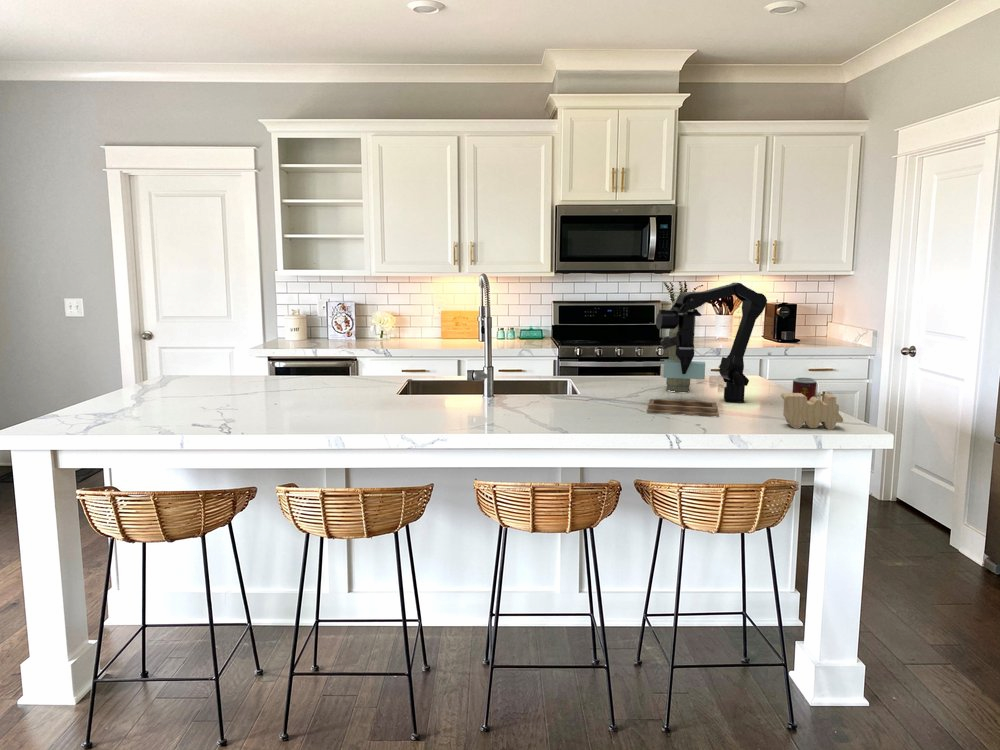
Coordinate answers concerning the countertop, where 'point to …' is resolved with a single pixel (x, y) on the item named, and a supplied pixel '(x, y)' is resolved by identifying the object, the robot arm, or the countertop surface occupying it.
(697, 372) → the pale blue block
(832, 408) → the toy train
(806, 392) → the soda can
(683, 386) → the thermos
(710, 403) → the tray
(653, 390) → the countertop surface
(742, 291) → the robot arm
